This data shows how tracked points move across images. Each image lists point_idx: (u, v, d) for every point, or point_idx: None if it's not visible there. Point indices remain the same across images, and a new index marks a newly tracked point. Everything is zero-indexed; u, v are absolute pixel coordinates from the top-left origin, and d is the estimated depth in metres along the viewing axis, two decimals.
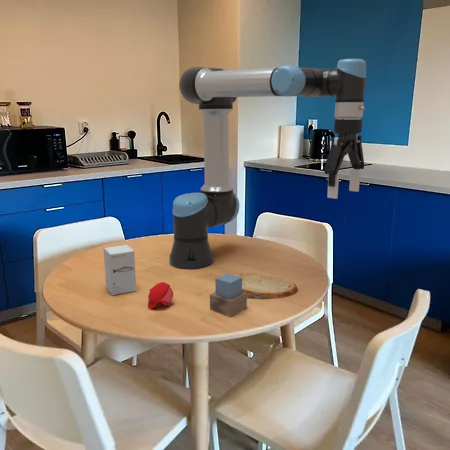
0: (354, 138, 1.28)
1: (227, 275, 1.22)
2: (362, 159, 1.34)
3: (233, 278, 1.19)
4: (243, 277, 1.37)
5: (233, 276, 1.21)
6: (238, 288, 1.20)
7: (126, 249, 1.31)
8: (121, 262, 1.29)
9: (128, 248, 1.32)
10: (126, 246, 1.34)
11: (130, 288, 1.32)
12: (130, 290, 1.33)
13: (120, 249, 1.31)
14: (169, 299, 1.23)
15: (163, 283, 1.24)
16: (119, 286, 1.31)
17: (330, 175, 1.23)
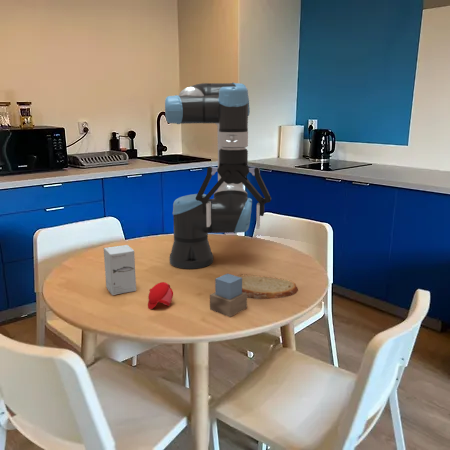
0: (241, 169, 1.19)
1: (227, 275, 1.21)
2: (265, 194, 1.20)
3: (233, 278, 1.19)
4: (243, 277, 1.37)
5: (233, 276, 1.21)
6: (238, 288, 1.19)
7: (126, 249, 1.31)
8: (121, 262, 1.29)
9: (128, 248, 1.32)
10: (126, 246, 1.34)
11: (130, 288, 1.32)
12: (130, 290, 1.33)
13: (120, 249, 1.31)
14: (169, 299, 1.23)
15: (163, 283, 1.24)
16: (119, 286, 1.31)
17: None
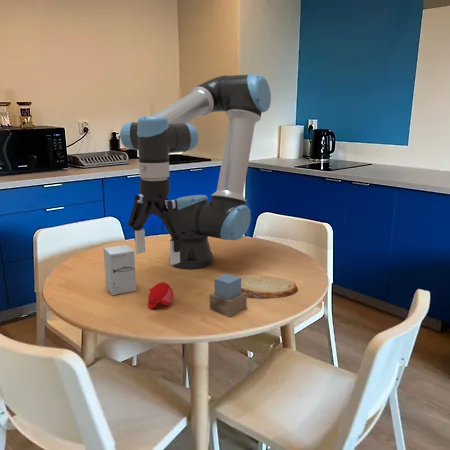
0: (158, 201, 1.15)
1: (226, 275, 1.21)
2: (176, 230, 1.12)
3: (232, 278, 1.19)
4: (243, 277, 1.37)
5: (232, 276, 1.20)
6: (237, 288, 1.19)
7: (126, 249, 1.31)
8: (121, 262, 1.29)
9: (128, 248, 1.32)
10: (126, 246, 1.34)
11: (130, 288, 1.32)
12: (130, 290, 1.33)
13: (120, 249, 1.31)
14: (169, 299, 1.23)
15: (163, 283, 1.24)
16: (119, 286, 1.31)
17: None
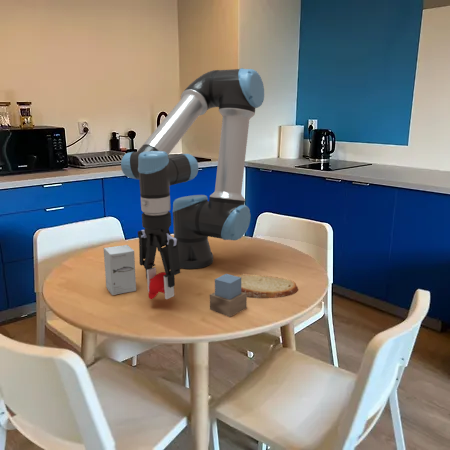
0: (160, 233, 1.17)
1: (226, 275, 1.21)
2: (171, 267, 1.17)
3: (232, 278, 1.19)
4: (243, 276, 1.38)
5: (232, 276, 1.20)
6: (237, 288, 1.19)
7: (126, 249, 1.31)
8: (121, 262, 1.29)
9: (128, 248, 1.32)
10: (126, 246, 1.34)
11: (130, 288, 1.32)
12: (130, 290, 1.33)
13: (120, 249, 1.31)
14: None
15: (163, 273, 1.24)
16: (119, 286, 1.31)
17: None
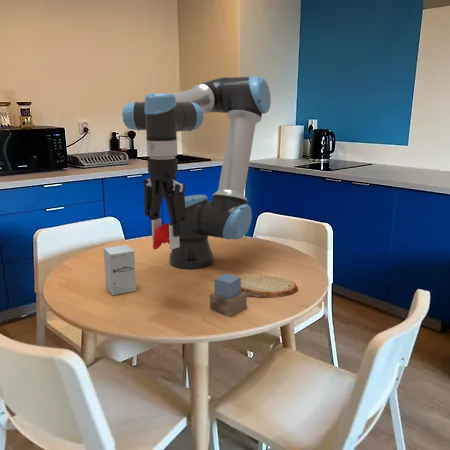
0: (166, 179, 1.13)
1: (225, 275, 1.21)
2: (176, 214, 1.13)
3: (232, 278, 1.19)
4: (243, 276, 1.38)
5: (232, 276, 1.21)
6: (237, 288, 1.20)
7: (126, 249, 1.31)
8: (121, 262, 1.29)
9: (128, 248, 1.32)
10: (126, 246, 1.34)
11: (130, 288, 1.32)
12: (130, 290, 1.33)
13: (120, 249, 1.31)
14: None
15: None
16: (119, 286, 1.31)
17: None
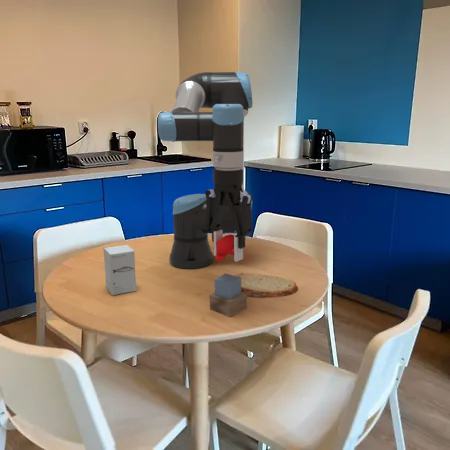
0: (233, 190, 1.11)
1: (226, 275, 1.21)
2: (243, 226, 1.11)
3: (232, 278, 1.20)
4: (243, 276, 1.38)
5: (232, 276, 1.21)
6: (237, 288, 1.20)
7: (126, 249, 1.31)
8: (121, 262, 1.29)
9: (128, 248, 1.32)
10: (126, 246, 1.34)
11: (130, 288, 1.32)
12: (130, 290, 1.33)
13: (120, 249, 1.31)
14: None
15: (231, 235, 1.18)
16: (119, 286, 1.31)
17: None
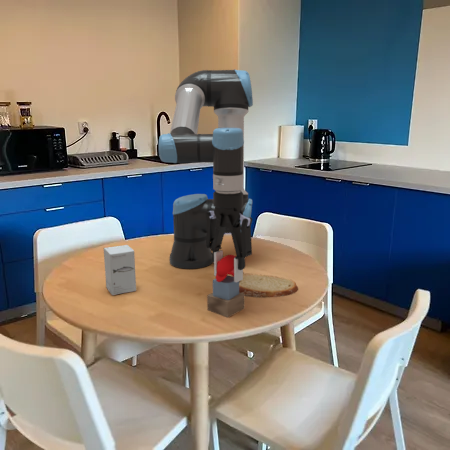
0: (233, 213, 1.13)
1: None
2: (243, 248, 1.13)
3: (230, 279, 1.19)
4: (244, 276, 1.39)
5: (230, 277, 1.20)
6: (235, 289, 1.19)
7: (126, 249, 1.31)
8: (121, 262, 1.29)
9: (128, 248, 1.32)
10: (126, 246, 1.34)
11: (130, 288, 1.32)
12: (130, 290, 1.33)
13: (120, 249, 1.31)
14: None
15: (231, 255, 1.19)
16: (119, 286, 1.31)
17: None
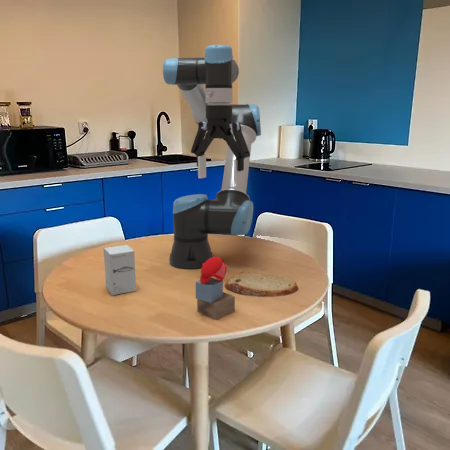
0: (222, 124, 1.26)
1: None
2: (240, 149, 1.24)
3: (213, 281, 1.17)
4: (244, 275, 1.39)
5: (214, 279, 1.19)
6: (219, 292, 1.17)
7: (126, 249, 1.31)
8: (121, 262, 1.29)
9: (128, 248, 1.32)
10: (126, 246, 1.34)
11: (130, 288, 1.32)
12: (130, 290, 1.33)
13: (120, 249, 1.31)
14: (223, 274, 1.16)
15: (217, 257, 1.18)
16: (119, 286, 1.31)
17: None
